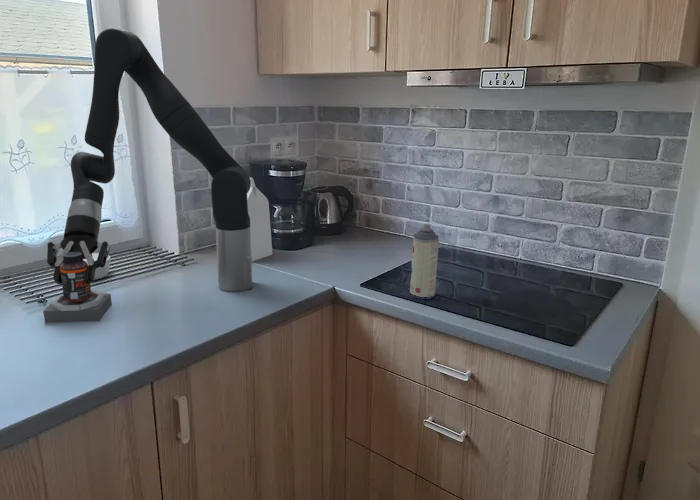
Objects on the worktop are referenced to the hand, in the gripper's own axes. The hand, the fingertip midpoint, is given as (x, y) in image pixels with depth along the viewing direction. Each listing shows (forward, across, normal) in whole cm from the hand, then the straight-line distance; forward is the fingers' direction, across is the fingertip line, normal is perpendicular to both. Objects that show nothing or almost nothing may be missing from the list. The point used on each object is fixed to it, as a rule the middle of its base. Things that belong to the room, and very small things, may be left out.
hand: (73, 282), depth 124 cm
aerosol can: (+2, +87, +11) cm, 88 cm away
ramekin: (-14, -6, +27) cm, 31 cm away
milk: (-26, +38, +39) cm, 61 cm away
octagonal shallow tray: (+5, 0, +7) cm, 9 cm away
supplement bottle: (+2, 0, +5) cm, 5 cm away
